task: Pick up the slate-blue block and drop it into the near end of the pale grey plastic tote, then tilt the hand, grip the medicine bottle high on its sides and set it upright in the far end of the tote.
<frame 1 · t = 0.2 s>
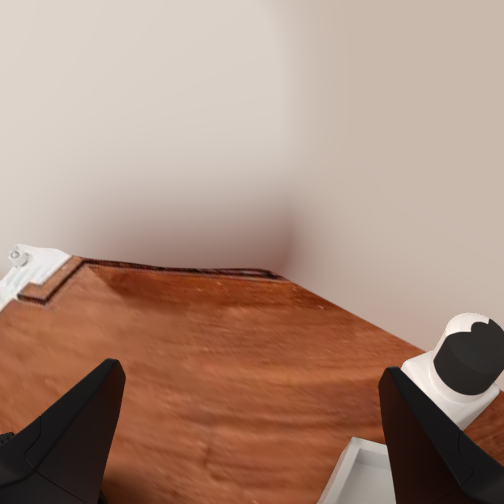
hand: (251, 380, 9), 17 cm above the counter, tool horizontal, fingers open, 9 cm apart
medicine bottle: (421, 420, 21), on the counter
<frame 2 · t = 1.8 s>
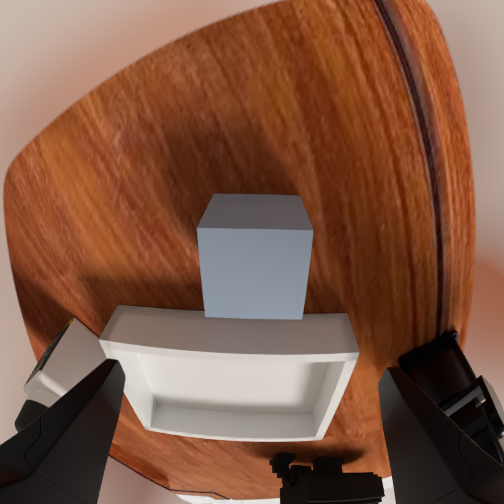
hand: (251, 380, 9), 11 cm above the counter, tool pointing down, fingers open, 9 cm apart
block: (256, 232, 18), on the counter
security camera: (324, 458, 36), on the counter
medicine bottle: (89, 350, 25), on the counter
tote: (231, 370, 24), on the counter
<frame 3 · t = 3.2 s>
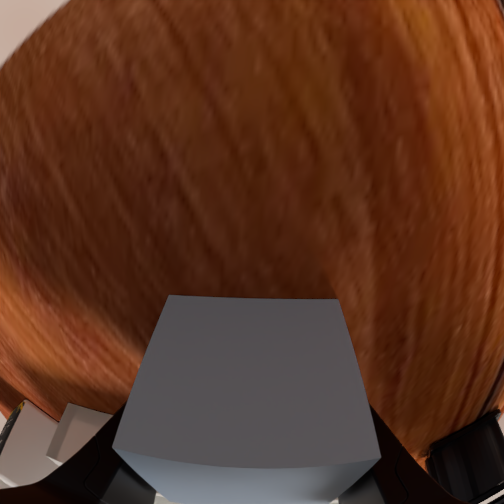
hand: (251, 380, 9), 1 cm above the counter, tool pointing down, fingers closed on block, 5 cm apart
block: (252, 355, 10), on the counter, touching gripper
medicine bottle: (53, 427, 16), on the counter
tote: (222, 469, 16), on the counter
when the fingers open (4 cm above the counter, at t = 7.0 s): block drops 2 cm, resting on tote.
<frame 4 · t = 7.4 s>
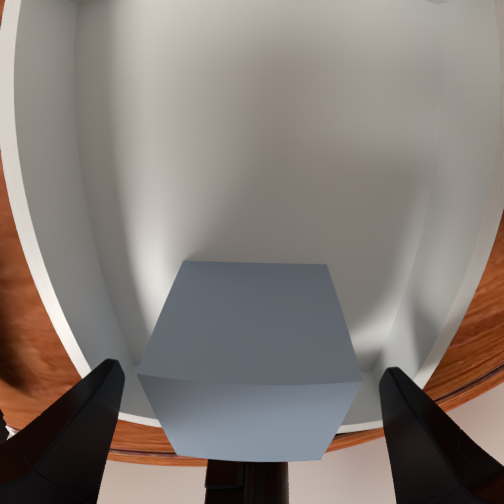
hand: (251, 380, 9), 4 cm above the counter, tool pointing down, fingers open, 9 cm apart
block: (253, 317, 11), point 1 cm above the counter, touching tote
tote: (255, 202, 10), on the counter
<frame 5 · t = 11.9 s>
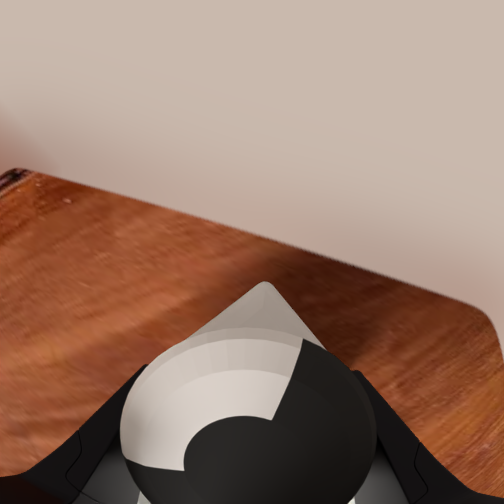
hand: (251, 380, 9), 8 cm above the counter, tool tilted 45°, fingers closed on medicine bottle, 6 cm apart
medicine bottle: (253, 382, 16), on the counter, touching gripper
when the fingers open (10 cm above the counter, at t = 16.0 s): medicine bottle stays where it is, resting on tote.
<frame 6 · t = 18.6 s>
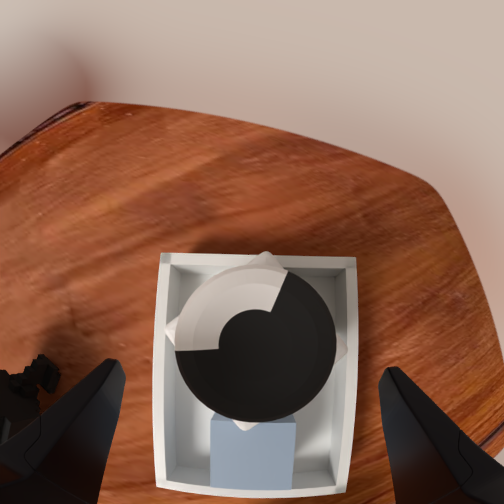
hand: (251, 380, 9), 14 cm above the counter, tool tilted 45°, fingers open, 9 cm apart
block: (253, 433, 19), point 1 cm above the counter, touching tote
security camera: (34, 427, 19), on the counter
medicine bottle: (256, 340, 21), point 1 cm above the counter, touching tote
tote: (255, 379, 21), on the counter
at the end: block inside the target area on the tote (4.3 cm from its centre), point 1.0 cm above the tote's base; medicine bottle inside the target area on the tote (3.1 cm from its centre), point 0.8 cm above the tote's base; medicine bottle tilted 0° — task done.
